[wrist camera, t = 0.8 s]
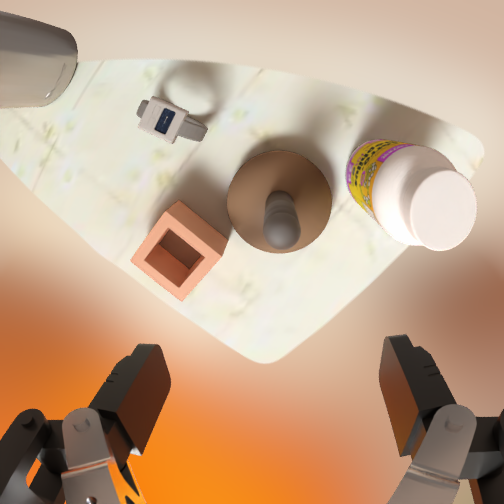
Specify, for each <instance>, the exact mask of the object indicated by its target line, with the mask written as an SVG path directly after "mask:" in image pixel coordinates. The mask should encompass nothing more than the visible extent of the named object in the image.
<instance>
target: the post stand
mask: <svg viewBox="0 0 504 504" xmlns="http://www.w3.org/2000/svg"><path fill="white" fill-rule="evenodd" d="M331 207H332V199H331V192H330V188H329V185H328V183H327V181H326V179H325V177H324V175H323V174H322V173H321V171H320V170H319V169H318V168H317V167H316V166H315V165H314V164H313V163H312V162H310V161H309V160H308V159H306V158H304V157H303V156H301V155H298V154H296V153H293V152H288V151H269V152H265V153H262V154H259V155H257V156H255V157H253V158H252V159H250V160H249V161H247V162H246V163H245V164H244V165H243V166H242V167H241V168H240V169H239V171H238V172H237V173H236V175H235V176H234V178H233V180H232V182H231V184H230V187H229V190H228V195H227V210H228V215H229V218H230V221H231V223H232V225H233V227H234V229H235V230H236V232H237V233H238V234H239V235H240V237H241V238H242V239H244V240H245V241H246V242H247V243H249V244H250V245H251V246H253V247H255V248H257V249H260V250H262V251H266V252H270V253H289V252H293V251H297V250H299V249H302V248H304V247H306V246H307V245H309V244H310V243H312V242H313V241H314V240H315V239H316V238H317V237H318V236H319V235H320V234H321V233H322V231H323V230H324V228H325V227H326V225H327V223H328V220H329V217H330V213H331Z"/></svg>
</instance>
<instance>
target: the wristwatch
mask: <svg viewBox="0 0 504 504" xmlns="http://www.w3.org/2000/svg"><path fill="white" fill-rule="evenodd" d="M188 113H189V111H187V110H184V109H182V108H180V107H178V106H175V105H173V104H171V103H169V102H166V101H164V100H162V99H159V98H157V97H154V96H152V97H151V99H150V101H147V100H143V101H142V102H141V104H140V106H139V108H138V111H137V116H138V117H140V118H141V120H140V123H139V125H138V128H139V129H141V130H144V131H146V132H148V133H150V134H152V135H154V136H157V137H159V138H161V139H163V140H165V141H167V142H169V143H171V144H173V143H174V142H175V140H176V138H177V136H181V137H184V138H187V139H190V140H194V141H199V142H200V141H202V140H203V138H204V136H205V134H206V132H207V130H208V128H207V127H206V126H205V125H204V124H202V123H200V122H198V121H196V120H195V119H193V118H190V117H188Z"/></svg>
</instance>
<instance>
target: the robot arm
mask: <svg viewBox="0 0 504 504" xmlns="http://www.w3.org/2000/svg"><path fill="white" fill-rule="evenodd" d="M77 54H78V50H77V44H76V41H75V39H74V37H73V36H72V35H71V33H69V32H68V31H66V30H64V29H61V28H58V27H55V26H52V25H49V24H46V23H43V22H40V21H36V20H33V19H30V18H26V17H22V16H19V15H15V14H11V13H7V12H3V11H0V109H2V108H23V107H42V106H46V105H48V104H50V103H52V102H53V101H54V100H56V99H57V98H58V97H59V96H60V95H61V94H62V93H63V92H64V90H65V89H66V87H67V86H68V84H69V82H70V80H71V78H72V76H73V74H74V71H75V68H76V63H77ZM379 382H380V387H381V391H382V394H383V397H384V400H385V404H386V407H387V411H388V414H389V418H390V421H391V425H392V428H393V432H394V436H395V439H396V443H397V447H398V451H399V455H400V457H402V456H407V455H411V458H412V463H411V465H410V467H409V468H408V470H407V472H406V474H405V475H404V477H403V479H402V480H401V482H400V484H399V486H398V487H397V489H396V491H395V492H394V494H393V495H392V497H391V498H390V500H389V501H388V503H387V504H452V503H453V501H454V499H455V497H456V494H457V492H458V489H459V486H460V482H458V479H468V480H469V483H470V487H471V491H472V495H473V499H474V503H475V504H504V409H503V411H502V412H501V414H500V416H499V417H475V415H474V414H473V412H472V411H471V410H470V409H468V408H467V407H464V406H462V405H458V404H457V403H456V401H455V399H454V397H453V396H452V394H451V392H450V390H449V388H448V386H447V384H446V382H445V380H444V378H443V376H442V375H441V374H440V371H439V369H438V367H437V366H436V363H435V361H434V360H433V358H432V356H431V354H429V353H428V352H427V351H426V350H424V349H423V348H422V347H420V346H419V347H413V345H412V343H411V341H410V340H409V338H408V336H407V335H406V334H403V335H396V336H388V337H385V339H384V344H383V351H382V357H381V363H380V369H379ZM170 387H171V378H170V374H169V371H168V368H167V365H166V362H165V359H164V356H163V352H162V349H161V347H160V346H159V345H157V344H138V345H137V346H136V348H135V349H134V351H133V353H132V354H131V356H126V357H125V358H123V359H122V360H121V361H119V362H118V363H117V364H116V366H115V367H114V369H113V370H112V372H111V374H110V375H109V376H108V377H107V379H106V382H104V383H103V385H102V386H101V388H100V390H99V391H98V392H97V394H96V396H95V397H94V399H93V400H92V402H91V403H90V405H89V407H88V408H79V409H76V410H74V411H72V412H70V413H69V414H68V415H67V416H66V417H65V419H64V420H47V419H46V418H45V416H44V415H43V413H42V412H41V411H40V410H38V409H28V410H25V411H23V412H21V413H20V414H19V415H18V416H17V417H16V418H15V420H14V421H13V423H12V424H11V425H10V427H9V429H8V430H7V431H6V433H5V434H4V436H3V437H2V439H1V440H0V504H64V503H65V501H66V504H147V503H146V502H145V500H144V497H143V495H142V493H141V491H140V488H139V486H138V484H137V481H136V479H135V476H134V474H133V471H132V469H131V466H130V463H129V462H128V460H127V459H128V457H129V454H130V453H131V454H135V455H142V454H143V452H144V449H145V447H146V445H147V442H148V440H149V437H150V435H151V433H152V430H153V428H154V426H155V423H156V421H157V419H158V416H159V414H160V412H161V409H162V407H163V405H164V402H165V400H166V398H167V395H168V393H169V391H170ZM36 458H37V459H38V460H39V461H40V462H41V463H42V464H41V466H40V468H39V469H38V472H37V474H36V475H35V477H34V479H33V481H32V483H31V485H30V487H29V488H28V486H27V484H26V476H27V474H28V472H29V470H30V468H31V467H32V465H33V463H34V461H35V460H36Z"/></svg>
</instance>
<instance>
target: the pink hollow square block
mask: <svg viewBox="0 0 504 504" xmlns="http://www.w3.org/2000/svg"><path fill="white" fill-rule="evenodd" d="M170 229H171V230H172V231H173V232H174V233H176V234H177V235H178V236H179V237H180V238H182V239H183V240H184V241H185V242H187V243H188V244H189V245H190V246H192V247H193V248H194V249H195V250H197V251H198V252H199V253H200V254H202V255H201V256H200V258H199V259H198V260H197V261H196V262H195V263H194V265H193V266H192V267H191V268H190V269H189V268H187V267H186V266H185V265H184V264H182V263H181V262H180V261H179V260H177V259H176V258H175V257H174V256H172V255H171V254H170V253H169V252H167V251H166V250H165V249H164V248H163V247H161V246H160V245H159V243H160V241H161V240H162V239H163V237H164V236H165V235H166V233H167V232H168V231H169V230H170ZM227 242H228V240H227V239H226V238H225V237H224V236H223V235H221V234H220V233H219V232H218V231H216V230H215V229H214V228H213V227H212V226H210V225H209V224H208V223H207V222H205V221H204V220H203V219H202V218H201V217H199V216H198V215H197V214H196V213H194V212H193V211H192V210H191V209H190V208H188V207H187V206H186V205H185V204H183V203H182V202H181V201H180V200H178V201H177V202H176V203H175V204H173V205H172V206H171V207H170V208H168V209H167V210H166V211H165V212H164V213H163V215H162V216H161V218H160V219H159V220H158V222H157V223H156V224H155V226H154V227H153V229H152V230H151V231H150V233H149V234H148V236H147V237H146V238H145V240H144V241H143V243H142V244H141V245H140V247H139V248H138V250H137V251H136V253H135V254H134V256H133V257H132V259H131V260H130V261H131V262H132V263H133V264H134V265H136V266H137V267H138V268H139V269H141V270H142V271H143V272H144V273H146V274H147V275H148V276H149V277H151V278H152V279H153V280H154V281H156V282H157V283H158V284H159V285H161V286H162V287H163V288H164V289H166V290H167V291H168V292H170V293H171V294H172V295H173V296H175V297H176V298H177V299H179V300H180V301H181V302H182V301H183V300H184V299H185V298H186V296H187V295H188V294H189V293H190V292H191V291H192V290H193V289H194V287H195V286H196V285H197V284H198V283H199V282H200V281H201V280H202V278H203V277H204V276H205V275H206V274H207V273H208V272H209V271H210V269H211V268H212V267H213V266H214V265H215V264H216V263H217V262H218V261H219V259H220V258H221V257H222V255H223V253H224V250H225V248H226V245H227Z"/></svg>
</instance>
